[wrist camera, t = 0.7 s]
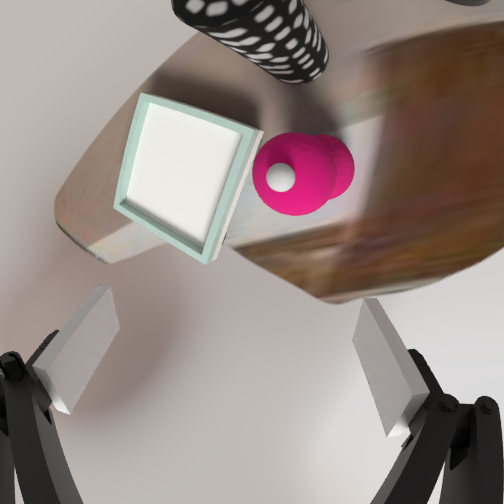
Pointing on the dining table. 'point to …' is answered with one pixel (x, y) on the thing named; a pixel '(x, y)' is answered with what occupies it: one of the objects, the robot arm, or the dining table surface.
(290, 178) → the pepper mill
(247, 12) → the white-spotted black cylinder
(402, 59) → the dining table surface
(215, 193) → the rolling base
